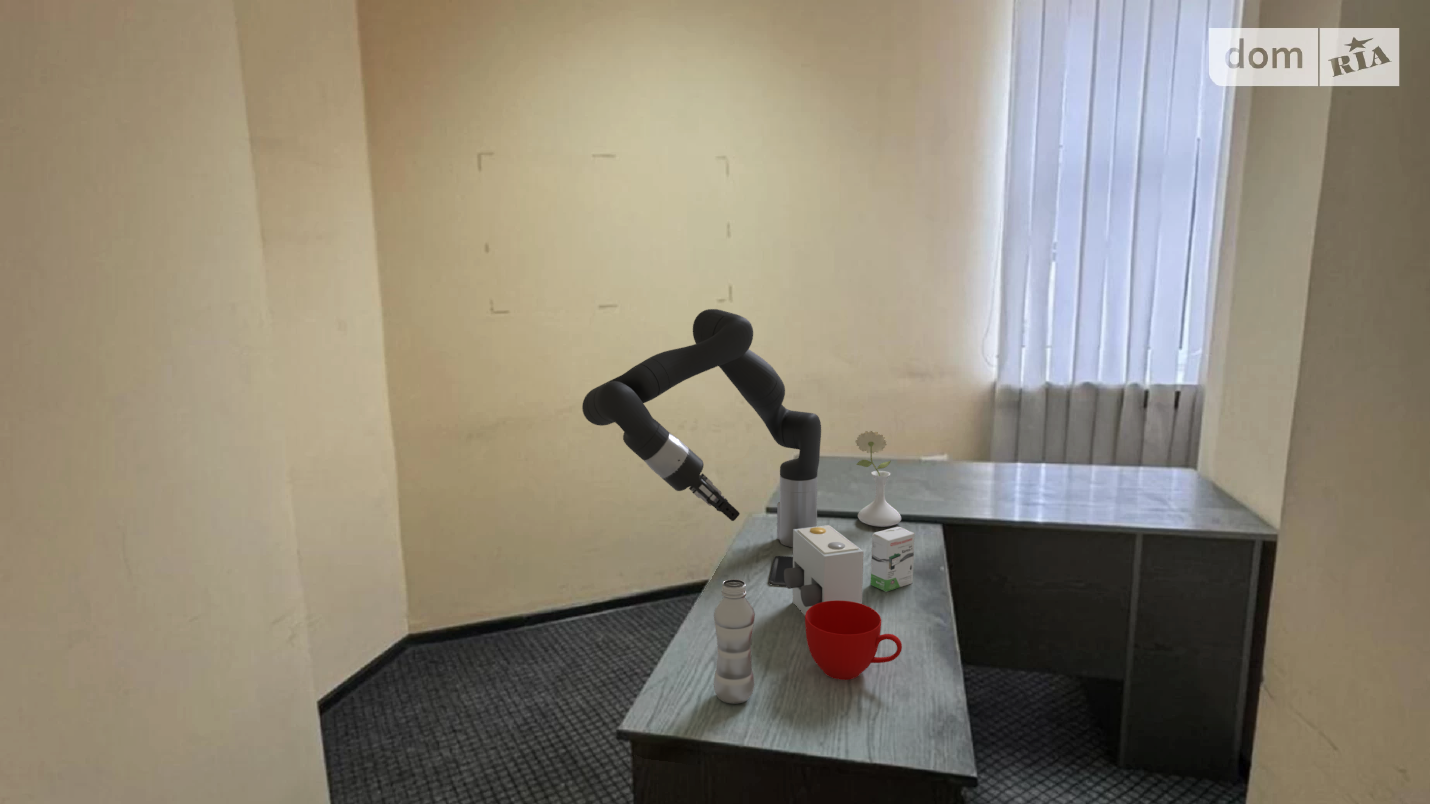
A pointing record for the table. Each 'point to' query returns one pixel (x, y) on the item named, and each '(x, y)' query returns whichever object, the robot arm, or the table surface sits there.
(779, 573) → the phone
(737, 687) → the plastic bottle
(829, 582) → the console
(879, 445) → the flower in vase
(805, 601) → the button
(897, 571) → the ink box
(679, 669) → the table surface
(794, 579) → the button
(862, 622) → the ceramic cup
